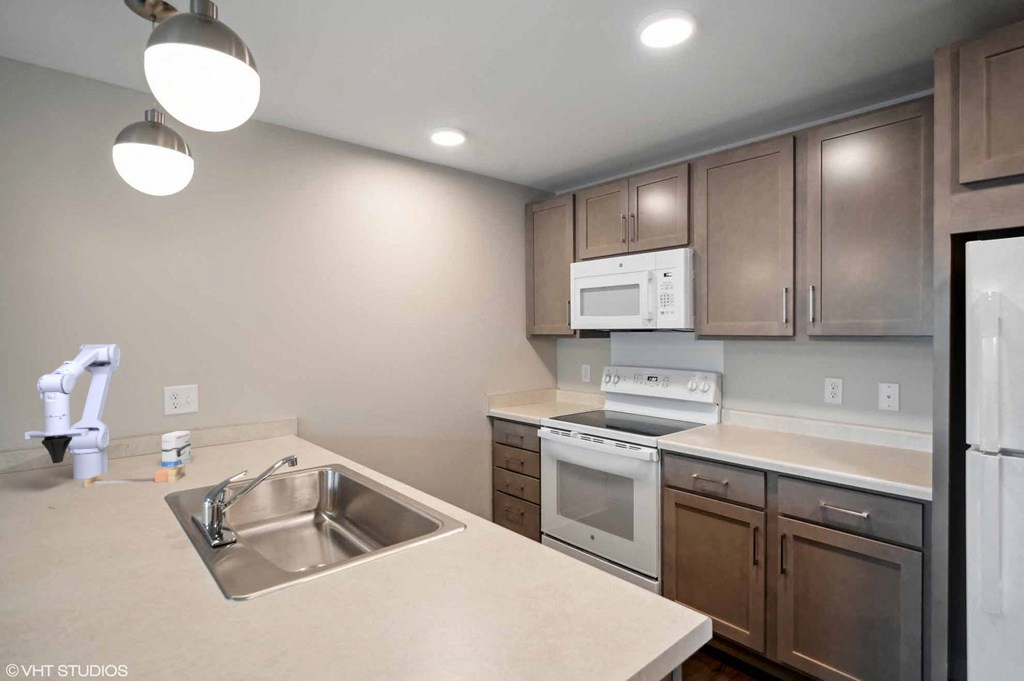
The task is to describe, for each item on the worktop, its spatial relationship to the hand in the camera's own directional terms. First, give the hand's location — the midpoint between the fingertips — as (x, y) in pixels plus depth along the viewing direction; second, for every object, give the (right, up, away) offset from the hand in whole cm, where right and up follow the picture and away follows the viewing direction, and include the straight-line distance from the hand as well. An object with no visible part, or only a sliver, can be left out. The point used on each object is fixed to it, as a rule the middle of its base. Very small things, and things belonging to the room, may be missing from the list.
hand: (57, 462), depth 147 cm
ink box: (+14, -9, +31) cm, 35 cm away
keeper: (+24, -8, +11) cm, 27 cm away
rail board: (+16, -9, +9) cm, 21 cm away
